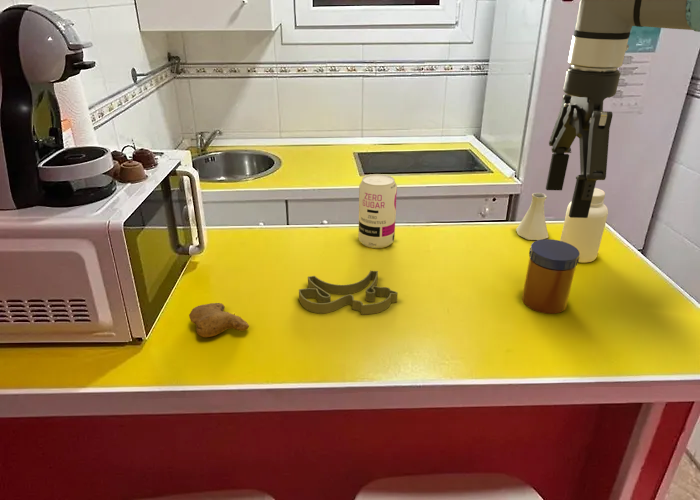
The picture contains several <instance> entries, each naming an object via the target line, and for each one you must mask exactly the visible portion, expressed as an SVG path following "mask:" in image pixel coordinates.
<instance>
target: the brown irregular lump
mask: <svg viewBox="0 0 700 500" xmlns="http://www.w3.org/2000/svg"><path fill="white" fill-rule="evenodd" d="M225 309H226V307H225V305H224V304H223V303H221V302H210V303H206V304H201V305H200V304H199V305H197V306H195V307H193V308H192V309H191V311H190V313H189V314H188V317H189V319H190V321H191V322H192V323H193V324H194V325H195V326H196V328H195V331H196V333H197V335H198V336H199V337H201V338H210V337H215V336H217V335H219V334H221V333H223V332H225V331H226V330H231V329H234V330H236V331H241V332H242V331H246V330H248V329H249V328H250V325H249V324H248V322H247V321H246V320H244V319H243V318H242V317H241V316H239V315H236V314H233V313H230V312H228V311H224V310H225Z"/></svg>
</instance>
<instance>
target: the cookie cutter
mask: <svg viewBox="0 0 700 500" xmlns="http://www.w3.org/2000/svg"><path fill="white" fill-rule="evenodd" d="M378 280H379V271H378V270H369V272H368V274H367V275H366V276H365V277H364V278H363V279H361V280H359V281H357V282H354V283H350V284H334V283H330V282H327V281H324V280H322V279H320V278H318V277H317V276H316V275H310V276H307V287H308V288H307V287H306V288H299V289H298V300H299V303H300V305H301V306H302V307H303V308H304V309H305V310H306V311H308V312H311V313H313V314H314V313H315V314H329V313H332V312H335V311H337V310H340V309H341V308H343V307H346V306H348V305H351V309H352V310H353V311H357V312H360V314H361V315H362V316H363V315H364V316H365V315H374V314H378V313H381V312H384V311H386V310H387V309H389V308H390V306H391V304H395V303H398V291H395V290H393V289H391V288H390V287H386V286H377V285H378ZM371 281H372V283H371ZM370 283H371V284H370ZM369 284H370V286H368V285H369ZM365 288H366V289H365ZM364 289H365V301H366V302H367V304H366V303H365V304H364V303H363V301H361V300H356V299H355V297H354V295H353V294H355V293H359V292H361V291H363V290H364ZM331 294H332V295H339V296H340V297H339V298H337V299H335V300H332V301H331ZM341 295H344V296H341ZM376 297H377V298H378V297H379V298H385V299H384V300H382V301H379V302H375V301H376ZM309 299H316V300H317V302H315V301H311V300H309ZM374 302H375V303H374Z"/></svg>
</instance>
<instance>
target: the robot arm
mask: <svg viewBox="0 0 700 500" xmlns="http://www.w3.org/2000/svg"><path fill="white" fill-rule="evenodd" d="M633 27H637V28H644V27H645V28H656V29H657V28H658V29H659V28H660V29H669V30H670V29H672V30H685V31H686V30H687V31H694V32H698V33H700V0H579V5H578V10H577V16H576V21H575V28H574V32H573V35H572V39H571V44H570V49H569V55H568V59H567V63H568V64H569V65H571V66H570V67H568V69H566V72H565V78H564V82H563V88H562V90H563V93H565V94H563V96H562V100H561V105H560V109H559V112H558V115H557V117H556V121H555V122H554V123H555V124H554V126H553V129H552V132H551V136H550V138H549V141H548V146H549V147H551V149H550V150H551V152H552V154H551V159H550V162H549V163H550V164H549V167H548V168H549V170H548V174H547V178H546V185H545V190H546V191H563V188H564V183H565V178H566V173H567V169H568V163H569V159H570V155H569V154H572V148H571V146H572V145H573V143H574V141H575V139H576V137H577V138H578V139H579V142H578V143H579V171H580V174H578V175H576V176H575V179H576V180H575V184H574V190H573V194H572V199H571V201H572V203H571V207H570V212H569V217H570V218H588V213H589V209H590V205H591V201H592V197H593V193H594V188H596V183H597V181H605V180H606V178H607V169H608V158H609V157H608V156H609V155H608V154H609V142H610V129H611V124H612V121H613V115H614V114H613V112H612V111H604V101H605V100H606V99H608V98H609V99H610V98H613V97H614V96H615V95H616V93H617V90H618V86H619V83H620V77H621V72H620V70H619V68H621V67H622V66H623V63H624V59H625V56H626V52H627V51H628V50H629V49H630V45H629V44H628V42H629V38H630V36H631V31H632V28H633Z"/></svg>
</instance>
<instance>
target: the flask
mask: <svg viewBox="0 0 700 500" xmlns="http://www.w3.org/2000/svg"><path fill="white" fill-rule="evenodd" d="M531 198H532V199H531V202H530V206H529V207H528V209H527V211H526V213H525V215H524V216H523V218H522V219H521V221H520V222H519V224H518V226H517V227H516V228H515V231H516V233H517V235H518V236H520V237H521V238H523V239H525V240H529V241H530V240H531V241H537V240H543V239H550V238H549V232H548V227H547V223H546V217H545V216H546V215H545V201H546V200H547V198H548V196H547V195H546V194H545V193H543V192H534V193H531Z"/></svg>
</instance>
